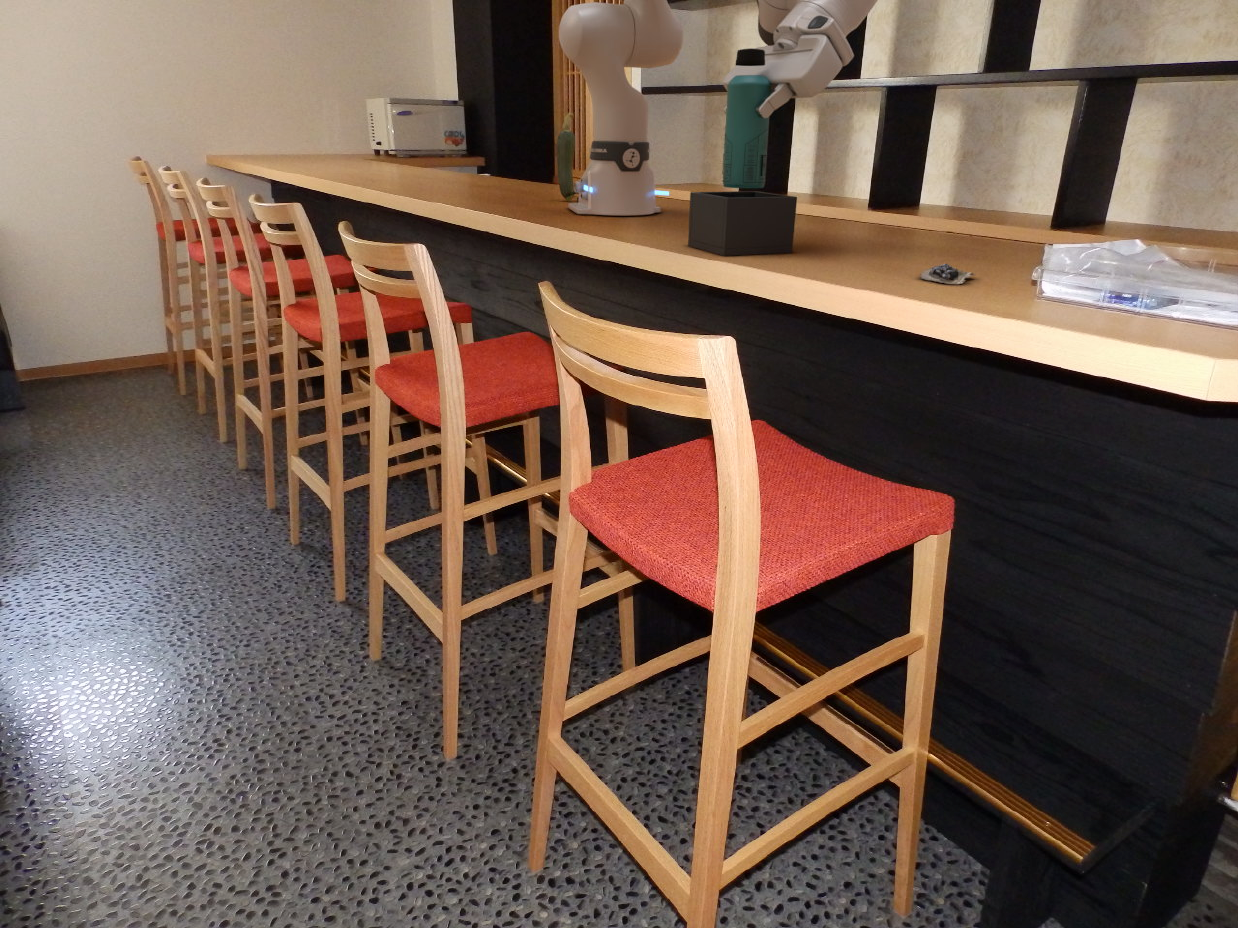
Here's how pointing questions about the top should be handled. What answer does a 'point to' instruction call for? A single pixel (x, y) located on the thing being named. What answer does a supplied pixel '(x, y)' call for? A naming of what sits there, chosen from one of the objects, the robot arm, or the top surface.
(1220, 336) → the top surface
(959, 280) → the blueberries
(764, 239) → the box
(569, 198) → the vegetable
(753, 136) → the beverage bottle
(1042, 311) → the top surface
